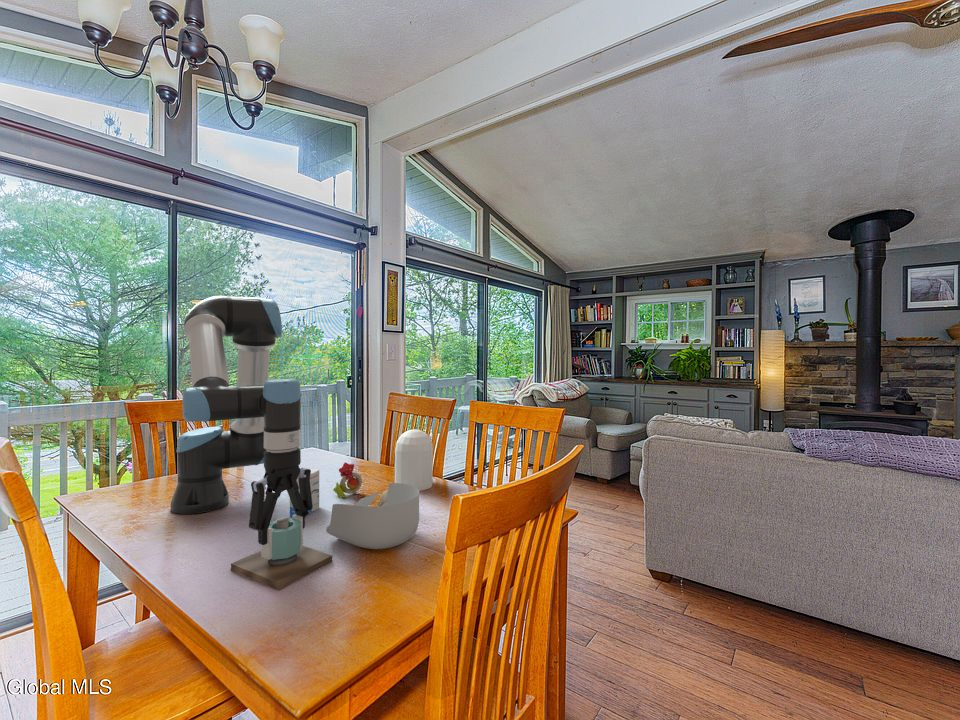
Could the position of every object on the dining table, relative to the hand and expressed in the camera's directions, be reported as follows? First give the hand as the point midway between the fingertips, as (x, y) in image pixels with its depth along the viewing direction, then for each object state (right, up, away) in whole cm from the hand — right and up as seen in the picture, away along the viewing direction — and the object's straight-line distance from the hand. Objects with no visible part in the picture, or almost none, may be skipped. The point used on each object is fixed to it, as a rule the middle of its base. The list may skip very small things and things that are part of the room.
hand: (282, 550), depth 101 cm
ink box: (-8, -3, +33) cm, 34 cm away
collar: (0, 0, 0) cm, 0 cm away
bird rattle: (0, -2, +48) cm, 48 cm away
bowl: (+19, -4, +15) cm, 24 cm away
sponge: (+19, -3, +33) cm, 38 cm away
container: (+21, -2, +60) cm, 63 cm away
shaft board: (0, -4, 0) cm, 4 cm away
